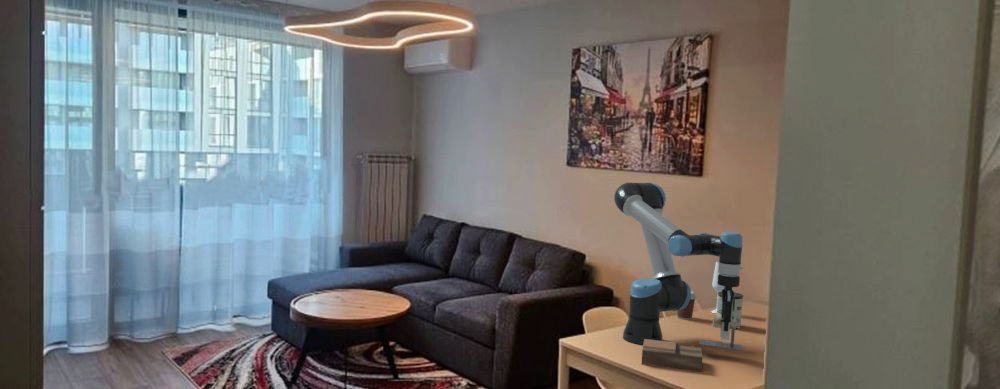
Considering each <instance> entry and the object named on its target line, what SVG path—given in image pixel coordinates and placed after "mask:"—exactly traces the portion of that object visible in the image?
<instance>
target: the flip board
mask: <svg viewBox="0 0 1000 389" xmlns="http://www.w3.org/2000/svg"><path fill="white" fill-rule="evenodd" d="M641 352H642V353H641V365H643V364H645V366H651V367H652V366H653V367H658V368H660V367H661V368H668V369H675V370H676V369H677V370H683V371H691V372H697V373H698V372H699V373H700V372H701V373H702V370H703V352H702V347H698V346H691V345H690V346H689V345H681V344H679V343H676V353H672V352H663V351H655V350H647V349H643V348H642V351H641Z"/></svg>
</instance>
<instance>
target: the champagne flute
mask: <svg viewBox="0 0 1000 389" xmlns="http://www.w3.org/2000/svg"><path fill="white" fill-rule="evenodd" d="M714 266H715V267H714V270H713V271H714V272H713V276H712V283H711V286H712V288H713V290H714V291H715V292H716V293H718V292H722V289H724V286H721V285H719V284H718V275H719V274H720V273H719V272H718V268H719V261H716V262H715V265H714ZM717 306H718V294H717V297H716V307H717ZM710 312H712V313H717V308H715V309H713V310H711V311H710ZM712 313H711V314H712Z"/></svg>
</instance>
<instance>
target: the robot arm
mask: <svg viewBox="0 0 1000 389" xmlns="http://www.w3.org/2000/svg"><path fill="white" fill-rule="evenodd" d="M613 197H614V198H613V199H614V200H613V201H614V203H615V206H616V208H618V210H619V211H620V212H622V213H623V214H624V215H625V216H628V217H632V218H633V219H635V220H636V221H637V222H638V223H640V224H641V229H642V232H643V236H644V240H645V244H646V249H647V252H648V256H649V260H650V263H651V267H652V272H653V277H652V278H639V279H636V280H634V281H632V283H631V285H630V291H629V294H630V296H629V307H628V308H629V311H628V318H627V319H628V320H627V322H626V324H625V327H624V328H623V333H622V334H623V335H622V338H623V340H625V341H627V342H629V343H633V344H639V345H643V343H644V339H650V340H658V341H663V339H664V338H663V332H662V328H661V325H660V313H664V312H675V311H676V312H677V310H680V309H683V308H685V307H686V306H687V305H688V304H689V301H690V299H691V291H692V289H691V287H690V284H689V283H687V281H685V280H683V279H682V276H681V274H680V273H679V272H677V270H676V268H675V264H674V260H673V258H672V255H673V256H675V257H690V256H707V255H708V256H715V257H718V262H719V268H718V272H719V273H720V274H719V275H718V284H719V285H721V286H724V289H722V313H721V315H722V316H721V317H722V318H723V320H721V322H722V328H720V340H725V341H729V340H730V332H731V329H730V322H731V312H732V303H733V296H734V292H735V291H734V290H733V288H737V287H739V286H740V280H741V279H740V275H741V270H742V269H743V266H741V262H742V250H743V247H744V245H743V235H742V234H741V233H739V232H731V231H723V232H721V234H720V236H719V235H714V234H710V233H701V232H700V233H697V234H688V233H686V232H685V231H683V230H682V229H681V228H680V227H678V226H677V225H676V224H674V223H673V222H672V221H671V220H669V219H668V218H667V217H665V216H664V215H663V214H662V213H663V212H664V208H665V204H666V200H667V197H666V193H665V191H664V189H663V187H661V186H660V185H659V184H656V183H653V182H652V183H651V182H625V183H622V184H620V186H618V187H617V188H616V191H615V193H614V196H613Z"/></svg>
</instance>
